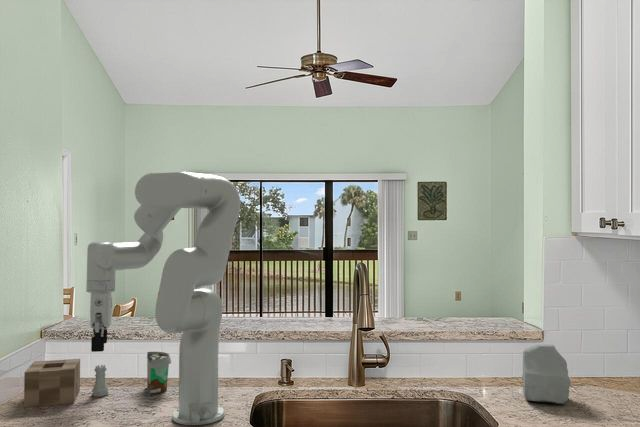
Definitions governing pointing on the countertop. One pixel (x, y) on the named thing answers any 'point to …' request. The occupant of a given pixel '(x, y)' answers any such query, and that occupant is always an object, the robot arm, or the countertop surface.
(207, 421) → the robot arm
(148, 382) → the food container
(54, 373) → the socket block
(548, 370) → the stone
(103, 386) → the rook chess piece
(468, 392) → the countertop surface
